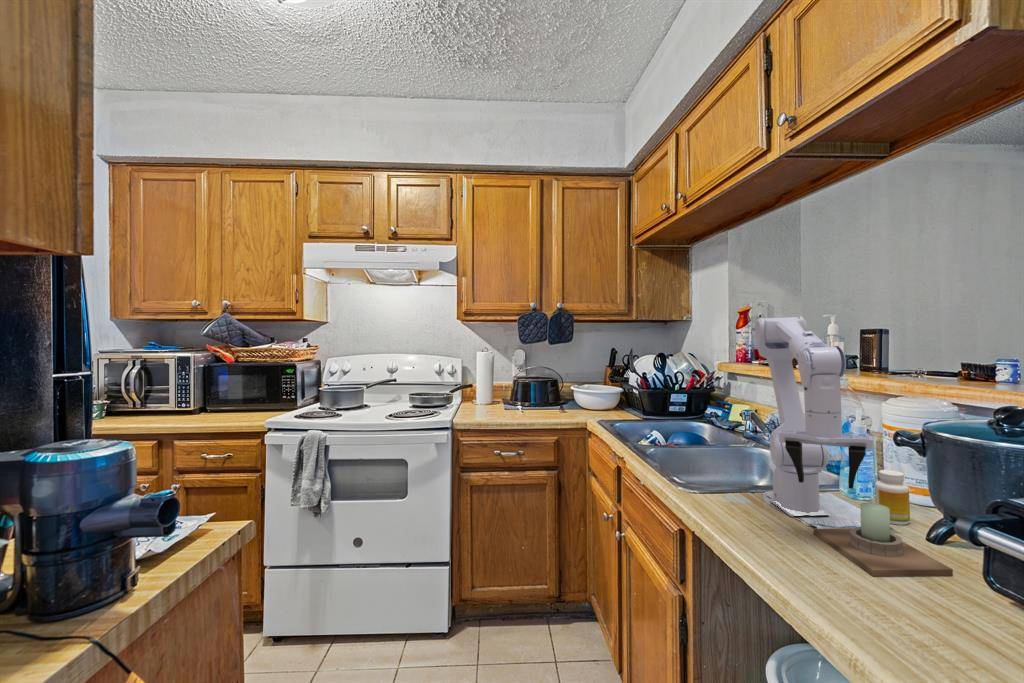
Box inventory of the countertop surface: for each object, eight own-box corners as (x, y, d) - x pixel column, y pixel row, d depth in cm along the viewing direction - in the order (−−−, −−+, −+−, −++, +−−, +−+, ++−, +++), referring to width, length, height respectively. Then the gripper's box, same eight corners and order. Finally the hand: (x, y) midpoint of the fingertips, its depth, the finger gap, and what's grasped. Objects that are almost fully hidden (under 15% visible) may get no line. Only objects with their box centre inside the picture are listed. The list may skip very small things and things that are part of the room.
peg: (855, 541, 84) (855, 503, 84) (878, 541, 83) (877, 502, 83) (872, 552, 80) (871, 511, 80) (896, 552, 79) (895, 511, 79)
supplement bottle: (916, 526, 92) (915, 476, 92) (885, 524, 93) (883, 476, 93) (899, 515, 97) (898, 468, 97) (870, 514, 98) (869, 468, 98)
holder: (813, 533, 90) (813, 518, 90) (878, 532, 89) (877, 517, 89) (873, 576, 74) (872, 557, 74) (952, 575, 73) (952, 556, 73)
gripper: (775, 411, 88) (778, 483, 88) (872, 416, 80) (875, 496, 80) (780, 407, 94) (782, 474, 94) (871, 411, 86) (873, 485, 85)
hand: (825, 484), depth 87 cm, fingers open, 7 cm apart
